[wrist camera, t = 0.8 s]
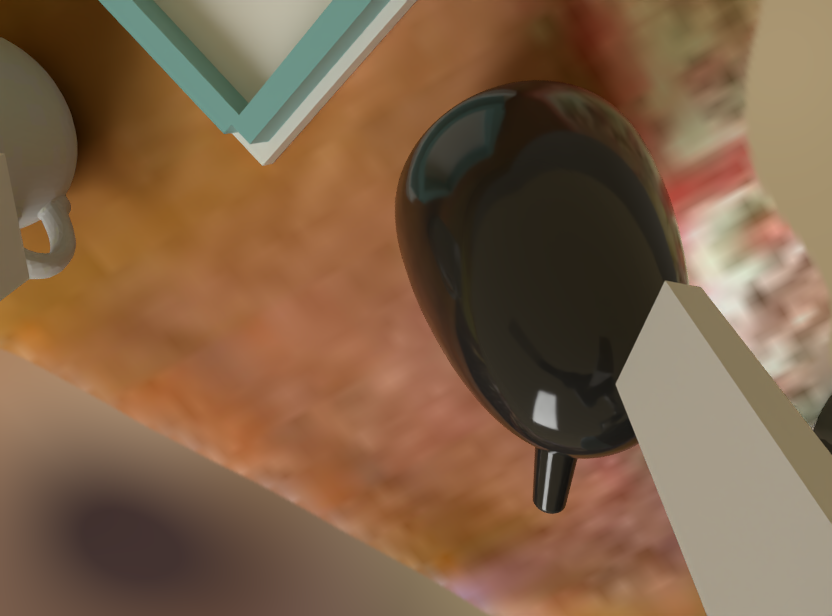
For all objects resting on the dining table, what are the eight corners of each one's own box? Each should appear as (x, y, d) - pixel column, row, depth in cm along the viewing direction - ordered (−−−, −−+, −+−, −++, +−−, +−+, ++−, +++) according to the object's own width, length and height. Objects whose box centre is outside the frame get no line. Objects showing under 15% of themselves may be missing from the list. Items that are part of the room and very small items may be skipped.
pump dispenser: (386, 257, 29) (393, 544, 17) (400, 39, 22) (427, 268, 11) (580, 265, 30) (709, 542, 18) (649, 59, 23) (922, 287, 12)
